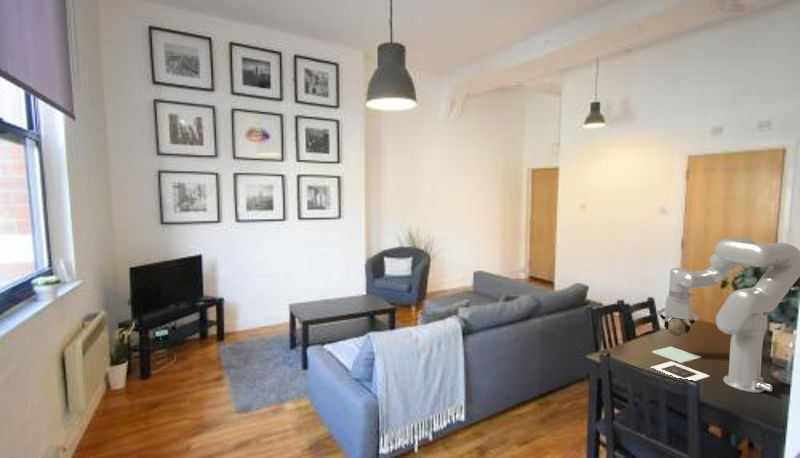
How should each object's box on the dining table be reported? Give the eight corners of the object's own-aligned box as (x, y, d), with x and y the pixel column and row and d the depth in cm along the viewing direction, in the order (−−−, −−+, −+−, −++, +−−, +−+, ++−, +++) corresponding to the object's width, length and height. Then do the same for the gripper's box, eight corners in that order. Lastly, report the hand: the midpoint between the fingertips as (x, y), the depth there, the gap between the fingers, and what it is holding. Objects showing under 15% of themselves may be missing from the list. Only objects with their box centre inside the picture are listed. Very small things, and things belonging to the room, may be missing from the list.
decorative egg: (670, 337, 185) (671, 317, 184) (665, 332, 192) (666, 312, 191) (688, 339, 183) (689, 318, 182) (682, 333, 190) (683, 313, 189)
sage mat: (700, 358, 184) (700, 356, 184) (681, 363, 179) (682, 362, 179) (670, 347, 197) (670, 346, 197) (651, 352, 192) (651, 351, 192)
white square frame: (709, 376, 166) (709, 375, 166) (689, 383, 160) (689, 382, 160) (670, 362, 180) (671, 361, 180) (650, 368, 175) (650, 366, 175)
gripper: (701, 295, 183) (699, 332, 185) (657, 290, 194) (655, 325, 195) (701, 299, 177) (699, 337, 179) (656, 293, 188) (654, 329, 189)
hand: (676, 330), depth 187 cm, fingers closed on decorative egg, 7 cm apart
